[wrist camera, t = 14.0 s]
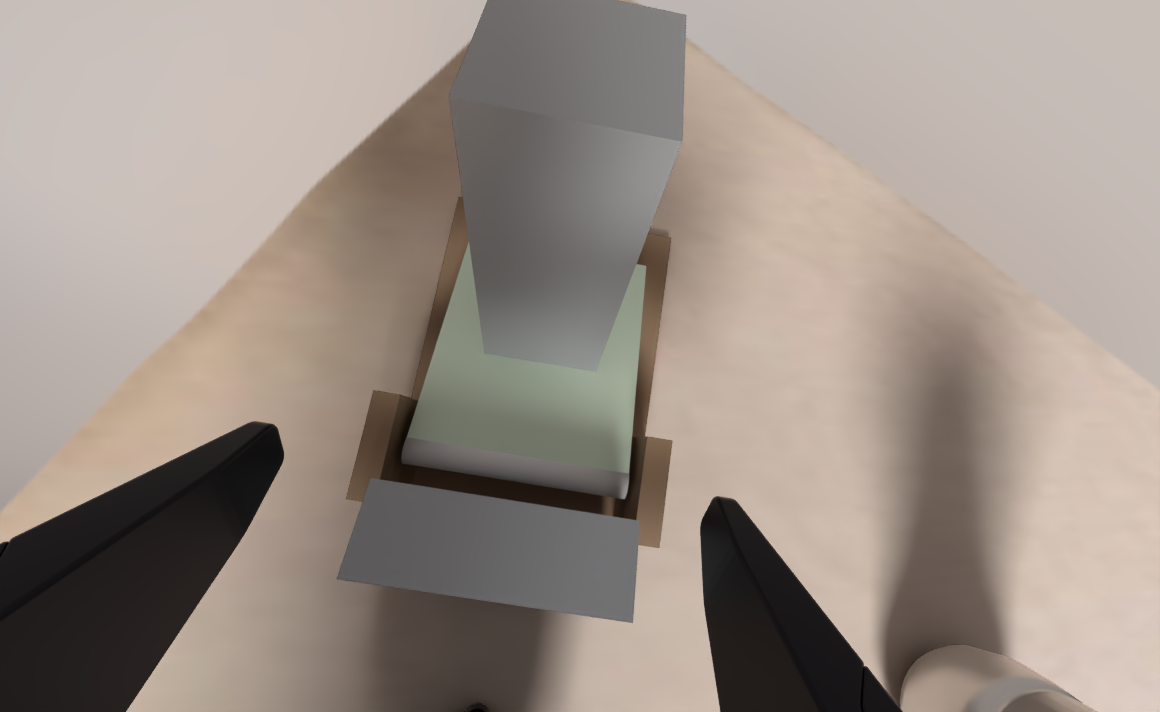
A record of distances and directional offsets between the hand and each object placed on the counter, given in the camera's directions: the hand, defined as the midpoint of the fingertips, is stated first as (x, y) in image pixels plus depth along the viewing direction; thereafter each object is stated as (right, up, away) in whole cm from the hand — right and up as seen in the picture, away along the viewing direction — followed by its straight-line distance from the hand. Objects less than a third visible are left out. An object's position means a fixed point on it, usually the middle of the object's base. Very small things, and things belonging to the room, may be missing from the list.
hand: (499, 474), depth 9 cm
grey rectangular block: (0, +4, +12) cm, 13 cm away
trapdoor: (-1, -1, +13) cm, 13 cm away
